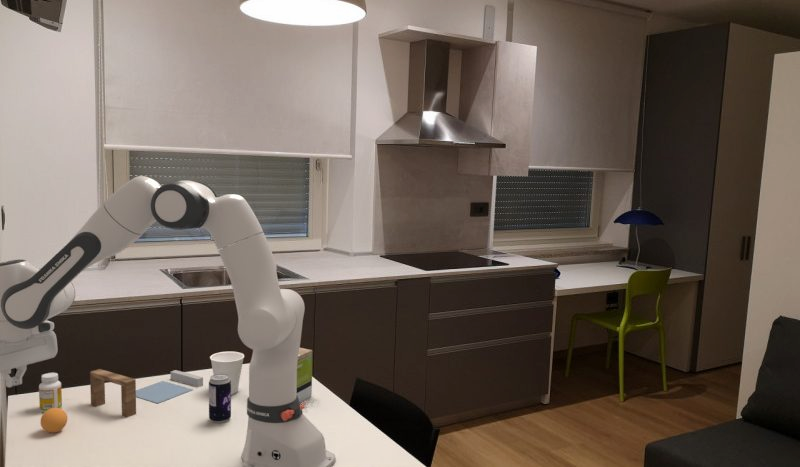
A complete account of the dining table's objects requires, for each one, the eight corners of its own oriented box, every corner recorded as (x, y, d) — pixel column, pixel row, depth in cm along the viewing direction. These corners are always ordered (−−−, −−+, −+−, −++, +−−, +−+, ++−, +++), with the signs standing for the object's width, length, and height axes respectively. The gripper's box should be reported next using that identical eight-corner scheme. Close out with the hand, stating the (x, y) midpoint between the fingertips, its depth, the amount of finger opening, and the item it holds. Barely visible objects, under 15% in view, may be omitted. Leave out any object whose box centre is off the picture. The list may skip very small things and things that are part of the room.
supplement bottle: (55, 403, 182) (54, 370, 181) (66, 408, 179) (64, 374, 178) (35, 409, 177) (34, 375, 176) (46, 414, 174) (44, 379, 173)
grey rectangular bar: (203, 385, 200) (203, 377, 199) (198, 387, 198) (198, 379, 198) (175, 377, 205) (175, 369, 205) (170, 379, 204) (170, 371, 203)
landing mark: (192, 389, 195) (192, 389, 195) (157, 403, 184) (157, 403, 184) (163, 381, 202) (162, 380, 202) (127, 394, 191) (127, 393, 190)
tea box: (250, 397, 191) (251, 348, 189) (272, 387, 200) (273, 340, 198) (292, 408, 184) (292, 357, 182) (312, 397, 193) (313, 348, 191)
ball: (72, 430, 166) (72, 407, 165) (50, 438, 160) (49, 415, 160) (58, 424, 168) (57, 402, 168) (35, 432, 163) (34, 409, 163)
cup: (207, 388, 197) (207, 353, 196) (240, 384, 201) (240, 350, 200) (212, 400, 188) (212, 363, 187) (247, 395, 192) (247, 359, 191)
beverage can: (224, 425, 171) (224, 381, 170) (205, 422, 172) (204, 379, 171) (234, 417, 177) (234, 374, 175) (215, 414, 178) (215, 372, 176)
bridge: (136, 413, 177) (135, 379, 176) (126, 417, 174) (126, 382, 173) (100, 402, 184) (99, 368, 183) (90, 405, 182) (90, 371, 180)
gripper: (-28, 341, 142) (-25, 402, 144) (60, 321, 160) (62, 376, 162) (-44, 336, 145) (-41, 396, 147) (44, 317, 163) (46, 371, 165)
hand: (14, 385), depth 154 cm, fingers closed
